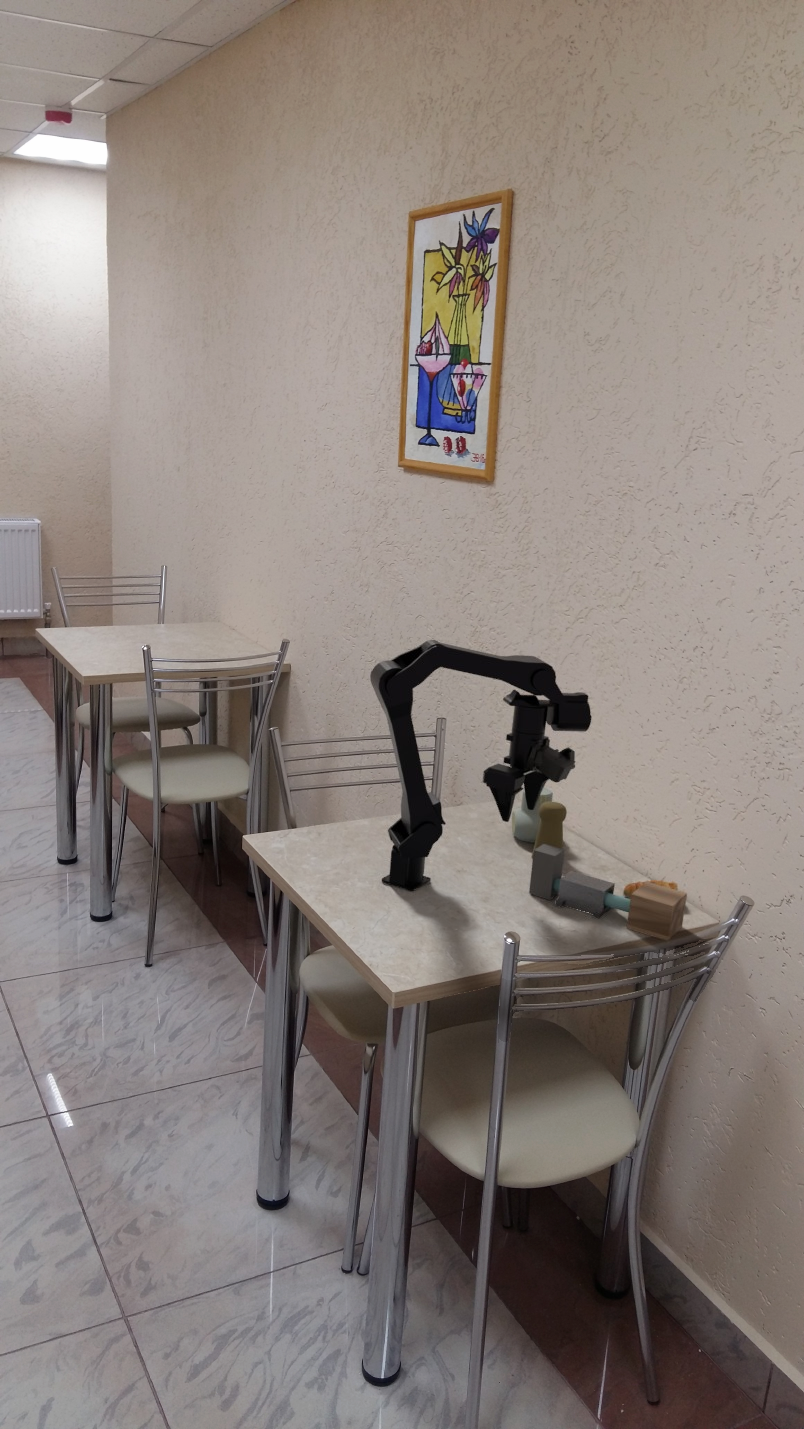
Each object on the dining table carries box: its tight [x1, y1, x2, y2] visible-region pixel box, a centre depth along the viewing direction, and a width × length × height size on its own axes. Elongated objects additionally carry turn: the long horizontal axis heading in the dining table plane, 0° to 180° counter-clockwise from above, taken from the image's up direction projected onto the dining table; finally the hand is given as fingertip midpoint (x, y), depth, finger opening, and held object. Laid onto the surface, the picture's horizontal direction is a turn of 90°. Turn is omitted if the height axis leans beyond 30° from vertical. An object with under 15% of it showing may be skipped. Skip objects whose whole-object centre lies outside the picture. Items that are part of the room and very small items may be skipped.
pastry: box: [622, 879, 679, 899], centre depth 193 cm, size 9×7×4 cm
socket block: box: [626, 881, 688, 941], centre depth 181 cm, size 7×7×6 cm
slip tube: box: [528, 844, 630, 914], centre depth 186 cm, size 4×24×8 cm, turn 57°
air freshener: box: [511, 787, 554, 844], centre depth 218 cm, size 11×8×10 cm
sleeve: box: [554, 870, 616, 920], centre depth 188 cm, size 6×8×5 cm
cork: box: [531, 801, 568, 860], centre depth 208 cm, size 6×6×11 cm
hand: (518, 815), depth 195 cm, fingers open, 9 cm apart
